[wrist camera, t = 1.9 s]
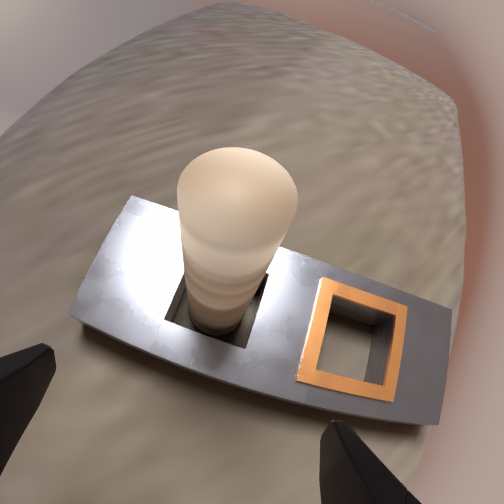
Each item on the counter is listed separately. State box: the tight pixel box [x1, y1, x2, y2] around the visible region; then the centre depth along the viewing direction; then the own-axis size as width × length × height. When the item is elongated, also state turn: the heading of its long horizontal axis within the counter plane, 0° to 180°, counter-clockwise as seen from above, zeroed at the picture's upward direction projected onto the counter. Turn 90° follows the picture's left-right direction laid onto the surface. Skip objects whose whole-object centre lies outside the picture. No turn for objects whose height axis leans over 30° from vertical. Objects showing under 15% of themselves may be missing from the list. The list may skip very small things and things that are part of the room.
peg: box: [177, 147, 298, 336], centre depth 16 cm, size 4×4×14 cm
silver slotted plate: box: [68, 195, 452, 425], centre depth 21 cm, size 28×10×3 cm, turn 73°
